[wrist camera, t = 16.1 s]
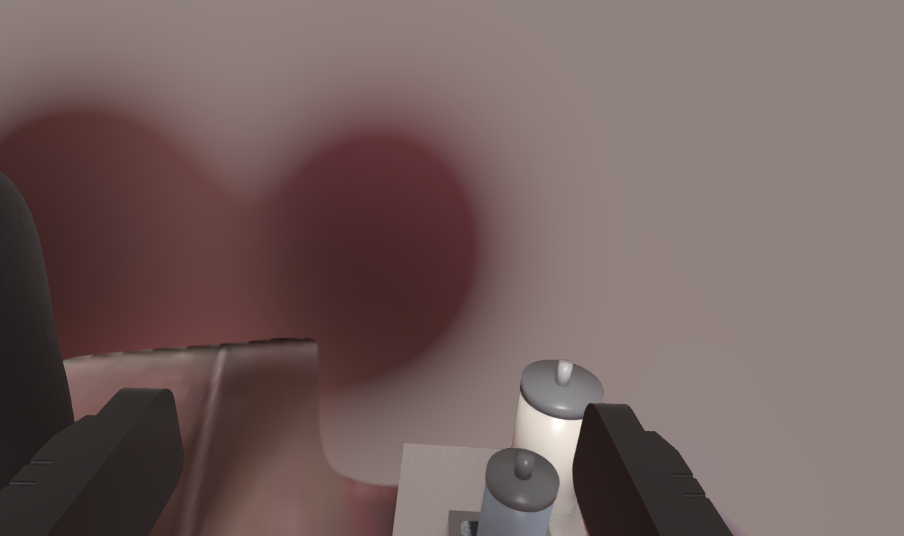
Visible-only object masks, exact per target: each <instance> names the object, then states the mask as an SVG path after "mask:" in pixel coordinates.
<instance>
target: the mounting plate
mask: <svg viewBox="0 0 904 536" xmlns="http://www.w3.org/2000/svg"><path fill="white" fill-rule="evenodd" d="M500 450H503V449H495V448H479V447H461V446H445V445H429V444H412V443H404V447H403V454H402V462H401V471H400V478H399V486H398V494H397V503H396V511H395V519H394V527H393V535H392V536H476V535H477V529H478V523H479V517H480V511H481V505H482V500H483V494H484V488H485V473H486V467H487V463H488V461H489V459H490V457H491V456H492V455H493V454H495V453H496V452H498V451H500ZM546 536H587V534H586V531H585V527H584V524H583V520H582V517H581V514H580V510H579V507H578V503H577V501H576V503H575V504H574V506H573V507H572V508H570V509H569V510H567V511H565V512H563V513H559V514H551V517H550V521H549V525H548V529H547V533H546Z"/></svg>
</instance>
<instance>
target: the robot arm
mask: <svg viewBox="0 0 904 536" xmlns="http://www.w3.org/2000/svg"><path fill="white" fill-rule="evenodd" d="M182 466H183V447H182V441H181V435H180V430H179V424H178V418H177V412H176V406H175V400H174V396H173V393H172V392H171V391H170V390H169V389H155V388H123V389H121V390H119V391H118V392H117V393H116V394H115V395H114V396H113V397H112V398H111V400H110V401H109V402H108V403H107V404H106V405H105V406H104V407H103V408H102V409H101V410H100V412H99V413H98V414H97V415H86V416H84V417H83V418H81V419H80V420H78V421H76V422H75V421H74V415H73V409H72V403H71V397H70V391H69V386H68V381H67V377H66V373H65V369H64V364H63V360H62V356H61V353H60V348H59V343H58V337H57V332H56V327H55V322H54V317H53V312H52V305H51V299H50V293H49V287H48V281H47V275H46V269H45V263H44V259H43V254H42V250H41V245H40V241H39V236H38V233H37V230H36V227H35V224H34V221H33V218H32V215H31V213H30V210H29V209H28V206H27V205H26V203H25V201H24V199H23V197H22V195H21V193H20V192H19V191H18V189H17V188H16V187H15V185H14V184H13V183H12V182H11V180H10V179H8V178H7V177H6V176H5V175H4V174H3V173H2V172H0V536H148V535H149V533H150V531H151V529H152V528H153V526H154V524H155V523H156V521H157V519H158V517H159V516H160V514H161V512H162V510H163V509H164V507H165V505H166V503H167V502H168V500H169V498H170V496H171V495H172V493H173V491H174V489H175V488H176V486H177V483H178V481H179V478H180V475H181V471H182ZM572 478H573V486H574V491H575V495H576V498H577V501H578V504H579V506H580V509H581V512H582V515H583V518H584V521H585V524H586V526H587V529H588V532H589V535H590V536H733V535H732V533H731V532H730V530H729V529H728V527H727V526H726V524H725V522H724V521H723V519H722V518H721V516H720V515H719V513H718V512H717V510H716V509H715V507H714V506H713V504H712V502H711V501H710V499H709V498H706V496H705V492H704V490H703V489H702V487H701V486H700V484H699V483H698V481H697V479H696V478H693V474H692V472H691V470H690V469H689V467H688V466H687V464H686V463H685V461H684V460H683V458H682V456H681V455H680V454H679V452H678V451H677V450H676V449H675V448H674V447H673V446H672V445H670V444H669V443H668V442H667V441H666V440H665V439H663V438H662V437H661V436H660V435H659V434H658V433H656V432H655V431H645V430H644V429H643V427H642V425H641V424H640V422H639V421H638V419H637V417H636V416H635V414H634V412H633V410H632V409H631V408H630V407H629V406H628V405H626V404H604V403H589V404H588V405H587V406H586V408H585V411H584V415H583V419H582V424H581V428H580V433H579V437H578V441H577V446H576V450H575V454H574V459H573V465H572Z"/></svg>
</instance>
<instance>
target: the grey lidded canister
mask: <svg viewBox="0 0 904 536" xmlns="http://www.w3.org/2000/svg"><path fill="white" fill-rule="evenodd" d="M559 485H560V480H559V475H558V473H557V471H556V469H555V468H554V466H553V465H552V464H551V463H550V462H549V461H548V460H547V459H546V458H544V457H543V456H541V455H539V454H538V453H535V452H533V451H530V450H527V449H522V448H507V449H503V450H500V451H498V452H496V453H495V454H493V455H492V456H491V457H490V459H489V461H488V463H487V467H486V473H485V488H484V494H483V500H482V505H481V511H480V517H479V523H478V529H477V535H476V536H546V533H547V529H548V525H549V521H550V517H551V512H552V508H553V504H554V501H555V500H556V497H557V494H558V489H559Z"/></svg>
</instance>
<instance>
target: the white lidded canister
mask: <svg viewBox="0 0 904 536" xmlns="http://www.w3.org/2000/svg"><path fill="white" fill-rule="evenodd" d="M603 395H604V389H603V386H602V384H601V382H600V381H599V380H598V378H597V377H596V376H595V375H593V374H592V373H591V372H589V371H588V370H586V369H584V368H583V367H580V366H578V365H576V364H573V363H572V362H571V361H569V360H565V359H564V360H563V359H562V360H541V361H537V362H534V363H531V364H530V365H528V366H527V367H526V368H525V369H524V370H523V373H522V378H521V385H520V397H519V404H518V410H517V416H516V423H515V429H514V435H513V441H512V448H522V449H527V450H530V451H533V452H535V453H538V454H539V455H541V456H543V457H544V458H546V459H547V460H548V461H549V462H550V463H551V464H552V465H553V466H554V468H555V469H556V471H557V473H558V475H559V480H560V485H559V489H558V494H557V497H556V500H555V501H554V504H553V508H552V512H551V514H559V513H563V512H565V511H567V510H569V509H570V508H572V507H573V506H574V504H575V503H576V501H577V498H576V495H575V491H574V486H573V478H572V465H573V459H574V454H575V450H576V446H577V441H578V437H579V433H580V428H581V424H582V419H583V415H584V411H585V408H586V406H587V405H588V404H589V403H602V398H603Z"/></svg>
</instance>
